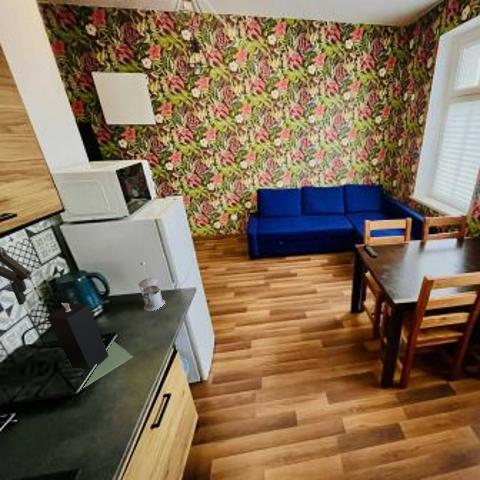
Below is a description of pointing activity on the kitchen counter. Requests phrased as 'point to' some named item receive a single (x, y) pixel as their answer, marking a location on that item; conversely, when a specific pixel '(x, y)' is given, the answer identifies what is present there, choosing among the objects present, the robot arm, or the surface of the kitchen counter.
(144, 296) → the french press
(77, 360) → the tissue box
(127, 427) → the kitchen counter surface
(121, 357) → the mat
